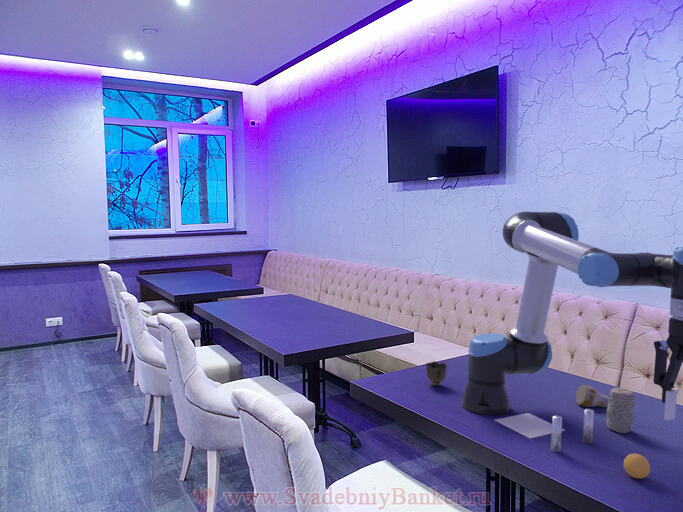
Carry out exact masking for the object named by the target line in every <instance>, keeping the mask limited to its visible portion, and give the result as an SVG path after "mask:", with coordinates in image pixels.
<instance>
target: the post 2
mask: <svg viewBox="0 0 683 512" xmlns="http://www.w3.org/2000/svg"><path fill="white" fill-rule="evenodd" d="M583 411H584V412H583V413H584V414H583V425H582V426H583V429H582V443H583V444H585V445H586V444H587V445H593V440H594V439H593V438H594V437H593V435H594V422H595V421H594V419H595V410H594V409H591V408H585V409H584V410H583Z"/></svg>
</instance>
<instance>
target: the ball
mask: <svg viewBox="0 0 683 512" xmlns="http://www.w3.org/2000/svg"><path fill="white" fill-rule="evenodd" d="M623 469H624V470H625V472H626V473H627V474H628V475H629V476H630V477H632V478H635V479H645V478H646V477H648V476H649V475H650V473H651V465H650V462H649V461H648V459H647V458H646V457H645V456H644V455H641V454H640V453H630V454H628V455H626V457H625V458H624V459H623Z"/></svg>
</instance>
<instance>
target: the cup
mask: <svg viewBox="0 0 683 512" xmlns="http://www.w3.org/2000/svg"><path fill="white" fill-rule="evenodd" d="M425 364H426V376H427V378H428V380H429V381H430V384H431V386H433V387H440V386H441V385H442V383H441V382H443V381H444V379H445V378H446V372H447V368H448V367H447V363H445V362H440V363H438V361H435V360H433V361H432V362H431V361H429V362H427V363H425Z"/></svg>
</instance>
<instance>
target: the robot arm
mask: <svg viewBox="0 0 683 512" xmlns="http://www.w3.org/2000/svg"><path fill="white" fill-rule="evenodd" d="M502 237H503V238H502V239H503V240H504V242H505V243H506V245H507V246H508V247H509V248H511V249H512V250H513V249H514V250H515V251H516V252H517V251H518V253H519V252H520V253H523V254H526V255H527V256H528V259H529V260H528V265H527V269H526V275H525V278H524V279H525V280H524V284H523V285H524V286H523V288H522V289H523V291H522V295H521V299H520V306H519V311H518V316H517V320H516V325H515V326H514V327H512V328H510V332H509V336H508V338H507V336H506V335H504V334H501V333H481V334H478V335H475V336H473V337H472V338H471V339H470V341H469V347H468V370H467V371H468V375H467V376H468V377H467V384H466V387H465V390H464V393H463V394H462V396H461V406H462V407H463V408H464V409H466V410H467V411H470V412H473V413H476V414H479V415H487V416H488V415H489V416H498V415H499V416H500V415H505V414H507V413H509V412H510V408H511V402H510V399H509V395H508V392H507V391H508V390H507V388H506V376H507V375H508V376H509V375H521V374H529V375H531V374H536V373H541V372H544V371H546V370H547V369H548V367H549V366H550V364H551V363H552V360H553V351H552V344H551V343H550V342H549V340H548V336H547V334H546V333H545V328H546V323H547V319H548V313H549V310H550V306H551V300H552V295H553V291H554V286H555V281H556V277H557V272H558V269H559V268H558V267H561V268H564V269H566V270H568V271H570V272H572V273H574V274H577V275H578V278H579V279H581V282H582V283H583V284H585V285H586V286H590V287H599V288H605V287H606V288H607V287H659V288H667V289H670V302H669V303H670V305H669V315H670V316H671V317H670V318H669V319H668V328H667V329H668V330H667V331H668V337H667V338H666V340H657V341H654V342H653V346H654V350H655V358H654V371H653V383H654V385H658V386H659V387H660V389H662V390H661V391H662V392H661V403H662V404H664V415H663V416H664V417H663V420H664V421H671V420H675V419H676V408H677V393H678V390H676V389H675V388H676V386H675V383H676V380H677V378H678V375H679V374H680V373H679V372H680V369H681V367H682V365H683V246H678V247H675V248H674V249H673V252H672V253H673V254H660V253H652V252H635V253H623V252H621V253H616V252H615V253H614V252H609V251H606V250H604V249H600V248H599V247H597V246H594V245H591V244H588V243H585V242H583V241H579V228H578V225H577V224H576V221H575V219H574V218H573V217H572V216H571V215H570V214H567V213H563V212H557V211H520V212H517V213H515V214H513V215H511V216H509V218H507V219H506V221H505V222H504V225H503V227H502ZM668 349H669V350H670V351H671V354H670V358H669V364H668Z"/></svg>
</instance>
